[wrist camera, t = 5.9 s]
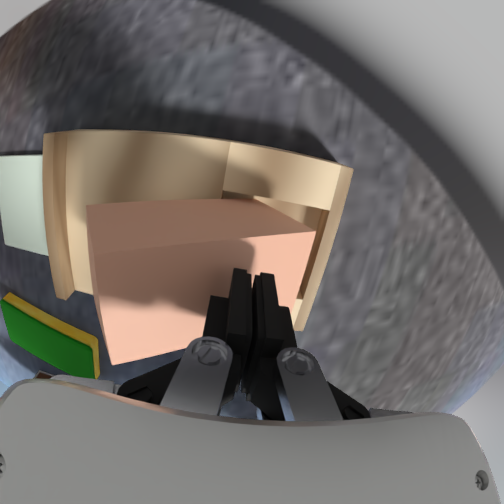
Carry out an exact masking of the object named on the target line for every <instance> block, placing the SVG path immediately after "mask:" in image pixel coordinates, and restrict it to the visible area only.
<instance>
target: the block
mask: <svg viewBox="0 0 504 504" xmlns="http://www.w3.org/2000/svg"><path fill="white" fill-rule="evenodd" d="M86 223H87V241H88V253H89V264H90V273H91V281H92V288H93V295H94V300H95V305H96V309H97V313H98V318H99V322H100V326H101V329H102V333H103V337H104V340H105V344H106V347H107V351H108V354H109V357H110V360H111V363H112V365H116V364H121V363H125V362H130V361H134V360H139V359H143V358H148V357H152V356H156V355H160V354H164V353H168V352H172V351H176V350H180V349H183V348H187V346H188V345H189V343H190V342H191V341H193V340H194V339H196V338H199V337H202V335H203V330H204V325H205V320H206V315H207V310H208V305H209V301H210V296H211V295H213V296H219V297H225V298H228V297H229V291H230V286H231V280H232V275H233V269H234V268H239V269H245V270H247V273H249V274H252V286H253V281H254V277H255V275H260V273H261V272H264V273H270V274H274V276H275V283H276V289H277V295H278V302H279V306H286V307H289V309H290V314H291V313H292V310H293V307H294V304H295V301H296V297H297V294H298V291H299V288H300V285H301V282H302V278H303V275H304V272H305V269H306V265H307V262H308V259H309V255H310V252H311V248H312V245H313V241H314V238H315V234H316V231H315V230H313V229H311V228H309V227H308V226H306V225H304V224H302V223H300V222H298V221H297V220H295V219H293V218H291V217H289V216H287V215H285V214H283V213H282V212H280V211H278V210H276V209H274V208H272V207H270V206H268V205H266V204H264V203H263V202H261V201H259V200H257V199H187V200H158V201H138V202H121V203H107V204H94V205H86Z"/></svg>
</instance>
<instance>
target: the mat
mask: <svg viewBox="0 0 504 504" xmlns="http://www.w3.org/2000/svg"><path fill="white" fill-rule="evenodd" d="M42 161H43V155H6V156H0V212H1V220H2V228H3V234H4V241H5V245H8V246H12V247H16V248H19V249H23V250H27V251H31V252H35V253H39V254H42V255H46V256H49V255H48V248H47V241H46V232H45V222H44V209H43V188H42Z"/></svg>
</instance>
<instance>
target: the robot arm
mask: <svg viewBox="0 0 504 504" xmlns="http://www.w3.org/2000/svg"><path fill="white" fill-rule="evenodd" d="M240 380H241V392H242V393H246V401H251V402H252V403H253V404H254V405H255V406H256V407H257V409H256V410H257V418H258V420H255V419H243V418H233V417H224V416H219V415H220V411H221V407H222V406H223V405H225V404H226V403H228V402H229V401H231V400H233V396H234V393H235V392H237V391H238V388H239V384H240ZM0 504H501V502H500V498H499V495H498V491H497V488H496V484H495V481H494V478H493V476H492V472H491V470H490V467H489V464H488V462H487V459H486V457H485V455H484V452H483V450H482V448H481V446H480V443H479V441H478V440H477V438H476V436H475V434H474V432H473V431H472V429H471V428H470V426H469V425H468V423H467V422H466V421H465V420H463V419H462V418H460V417H458V416H455V415H452V414H447V413H439V412H420V413H413V412H408V411H396V410H386V409H377V408H370V409H369V410H367V409H366V408H365V407H364V406H363V405H362V404H360V403H359V402H357V401H356V400H354V399H353V398H351V397H350V396H348V395H347V394H345V393H344V392H342V391H341V390H339V389H338V388H336V387H335V386H333V385H332V384H330V383H329V382H328V381H326V378H325V376H324V374H323V372H322V369H321V367H320V365H319V363H318V361H317V359H316V358H315V356H313V355H312V354H311V353H310V352H308V351H306V350H304V349H301V348H297V344H296V339H295V334H294V329H293V324H292V319H291V314H290V309H289V307H286V306H279V302H278V295H277V289H276V283H275V276H274V274H270V273H264V272H261V273H260V275H255V277H254V281H253V286H252V274H249V273H247V270H245V269H239V268H234V269H233V275H232V280H231V286H230V291H229V297H228V298H225V297H219V296H213V295H211V296H210V301H209V305H208V310H207V315H206V320H205V325H204V330H203V335H202V337H199V338H196V339H194V340H193V341H191V342H190V343H189V345H188V346H187V348H186V350H185V353H184V355H183V357H182V358H180V359H178V360H176V361H174V362H171V363H169V364H167V365H165V366H162V367H160V368H158V369H155V370H153V371H150V372H148V373H146V374H143V375H141V376H138V377H136V378H133V379H131V380H128V381H127V382H125V383H123V384H122V385H117V384H114V381H107V380H98V379H89V378H82V377H75V376H69V375H56V376H53V377H52V378H50V379H39V378H35V379H25V380H21V381H18V382H16V383H15V384H13V385H11V386H10V387H9V388H8V389H7V390H6V391H5V392H4V393H3V394H2V396H1V397H0Z"/></svg>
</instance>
